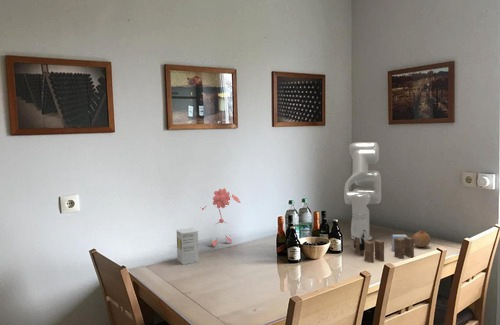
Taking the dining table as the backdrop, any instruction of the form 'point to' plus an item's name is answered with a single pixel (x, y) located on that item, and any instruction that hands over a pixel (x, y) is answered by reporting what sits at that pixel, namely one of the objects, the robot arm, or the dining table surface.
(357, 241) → the domino
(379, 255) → the domino
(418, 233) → the onion
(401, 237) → the medicine box
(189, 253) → the supplement box
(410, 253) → the domino
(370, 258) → the domino
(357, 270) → the dining table surface
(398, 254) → the domino
